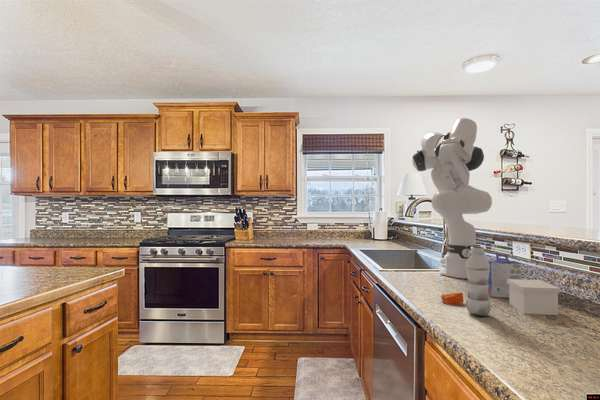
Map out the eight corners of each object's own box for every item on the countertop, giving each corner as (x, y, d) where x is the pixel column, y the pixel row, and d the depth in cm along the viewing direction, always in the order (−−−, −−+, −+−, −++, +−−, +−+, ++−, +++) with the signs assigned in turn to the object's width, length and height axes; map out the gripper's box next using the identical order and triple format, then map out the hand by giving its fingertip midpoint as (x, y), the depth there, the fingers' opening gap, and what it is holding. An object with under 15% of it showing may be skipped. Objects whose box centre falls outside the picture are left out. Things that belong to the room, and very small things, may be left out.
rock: (426, 299, 110) (426, 287, 110) (459, 298, 111) (458, 286, 111) (445, 311, 98) (444, 297, 98) (481, 309, 99) (481, 295, 99)
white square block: (507, 303, 102) (506, 279, 103) (541, 304, 101) (540, 280, 101) (523, 314, 93) (522, 287, 93) (561, 315, 91) (560, 288, 91)
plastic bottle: (463, 314, 93) (462, 247, 93) (469, 309, 98) (468, 245, 98) (488, 320, 88) (486, 249, 88) (493, 313, 93) (492, 246, 93)
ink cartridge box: (516, 294, 112) (515, 254, 113) (523, 299, 107) (522, 256, 107) (485, 293, 114) (485, 253, 115) (492, 297, 109) (491, 256, 109)
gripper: (458, 171, 123) (451, 201, 118) (439, 137, 112) (430, 168, 107) (476, 170, 119) (469, 200, 113) (458, 134, 107) (449, 166, 102)
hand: (450, 184), depth 110 cm, fingers open, 8 cm apart
